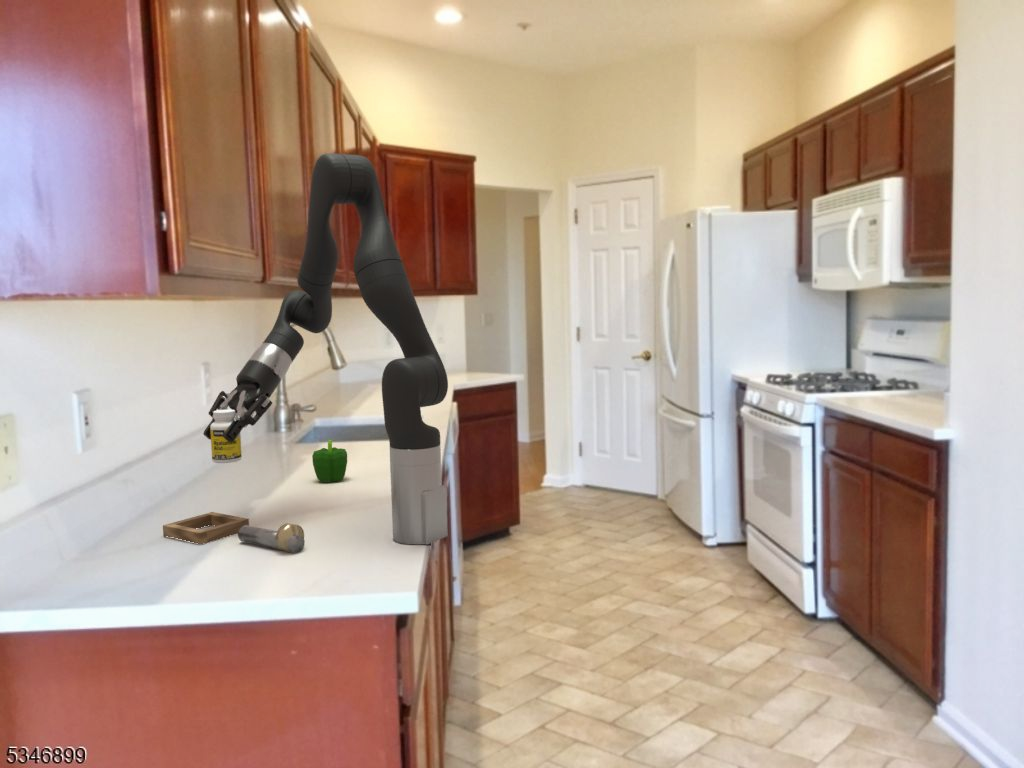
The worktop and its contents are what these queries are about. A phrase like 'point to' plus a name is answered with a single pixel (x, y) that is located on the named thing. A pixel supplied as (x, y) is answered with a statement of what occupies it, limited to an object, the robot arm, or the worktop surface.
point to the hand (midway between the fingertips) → (217, 438)
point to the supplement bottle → (219, 444)
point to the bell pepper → (330, 463)
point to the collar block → (222, 528)
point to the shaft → (275, 537)
